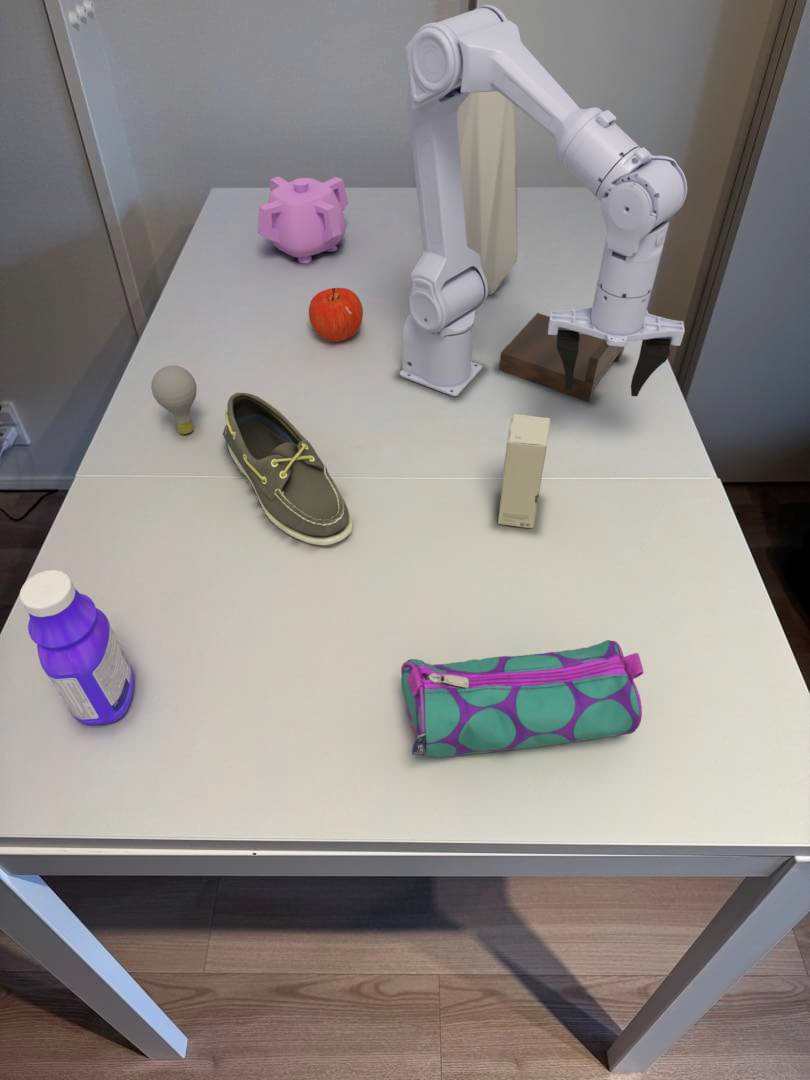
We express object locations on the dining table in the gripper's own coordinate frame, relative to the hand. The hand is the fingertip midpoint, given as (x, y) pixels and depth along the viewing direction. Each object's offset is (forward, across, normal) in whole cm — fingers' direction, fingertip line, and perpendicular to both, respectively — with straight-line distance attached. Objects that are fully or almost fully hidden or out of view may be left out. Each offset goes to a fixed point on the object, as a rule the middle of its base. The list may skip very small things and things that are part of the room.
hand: (601, 388), depth 91 cm
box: (+10, -8, -12) cm, 18 cm away
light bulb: (+10, -53, -4) cm, 54 cm away
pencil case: (+10, -7, -40) cm, 42 cm away
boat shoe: (+10, -36, -12) cm, 40 cm away
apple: (+10, -38, +21) cm, 44 cm away
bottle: (+10, -46, -44) cm, 65 cm away
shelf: (+10, -4, +19) cm, 22 cm away
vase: (+10, -18, +39) cm, 44 cm away
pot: (+10, -48, +46) cm, 68 cm away
